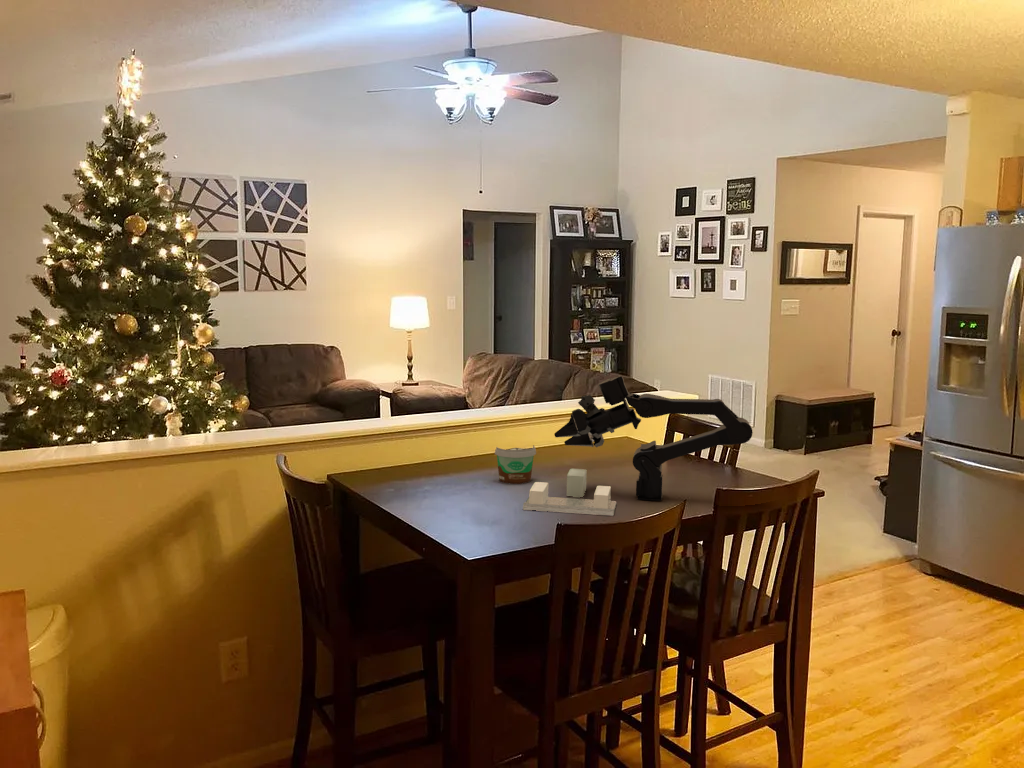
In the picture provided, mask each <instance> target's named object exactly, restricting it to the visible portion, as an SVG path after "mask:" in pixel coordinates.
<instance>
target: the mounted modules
mask: <svg viewBox="0 0 1024 768" xmlns="http://www.w3.org/2000/svg"><path fill="white" fill-rule="evenodd" d="M611 490H612V489H611V486H610V485H609V486H608V485H597V486H596V489H595V491H594V494H593V500H594V508H604V509H608V508H609V504H610V501H611V496H612V495H611V494H612V493H611ZM548 497H549V482H543V481H542V482H541V481H535V482H534V483H533V485H532V486H531V488H530V489H529V496H528V498H529V504H542V505H543V504H545V502H546V500H547V498H548Z"/></svg>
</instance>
